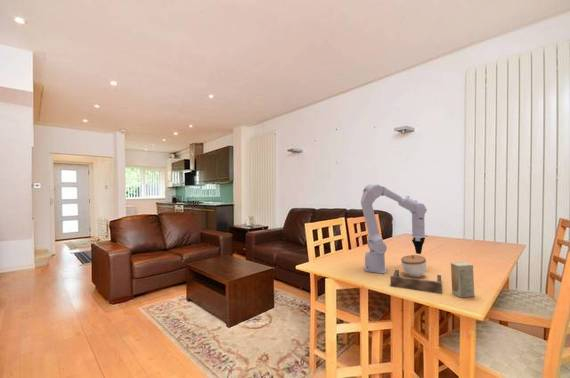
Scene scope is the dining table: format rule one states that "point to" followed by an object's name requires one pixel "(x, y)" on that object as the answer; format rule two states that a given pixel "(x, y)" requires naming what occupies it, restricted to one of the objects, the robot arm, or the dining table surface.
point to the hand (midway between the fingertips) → (418, 252)
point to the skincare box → (462, 279)
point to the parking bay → (416, 283)
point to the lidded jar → (414, 265)
